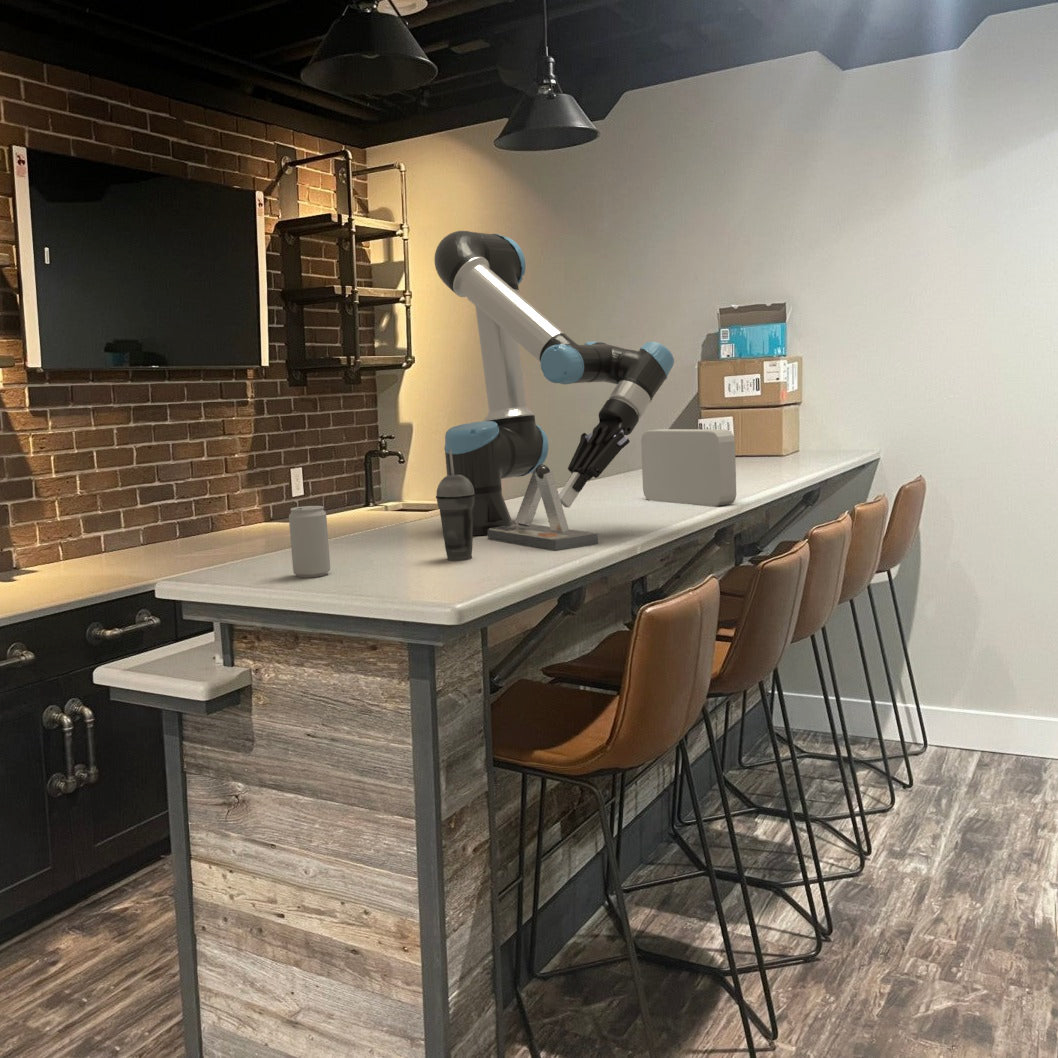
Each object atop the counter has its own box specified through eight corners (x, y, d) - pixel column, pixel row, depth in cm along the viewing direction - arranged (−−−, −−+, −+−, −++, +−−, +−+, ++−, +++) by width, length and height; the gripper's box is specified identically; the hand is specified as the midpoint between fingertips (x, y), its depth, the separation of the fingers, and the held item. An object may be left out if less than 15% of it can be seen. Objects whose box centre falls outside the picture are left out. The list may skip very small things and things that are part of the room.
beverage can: (296, 573, 184) (290, 506, 182) (332, 570, 184) (327, 503, 183) (291, 579, 177) (285, 510, 176) (329, 577, 178) (323, 508, 176)
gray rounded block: (744, 504, 248) (742, 428, 246) (720, 507, 244) (718, 431, 242) (665, 497, 272) (663, 428, 270) (643, 500, 268) (640, 430, 265)
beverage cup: (449, 563, 185) (442, 452, 182) (433, 558, 192) (426, 450, 189) (485, 558, 188) (479, 448, 186) (469, 553, 195) (462, 447, 192)
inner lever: (522, 526, 214) (543, 467, 215) (532, 527, 211) (554, 467, 212) (512, 521, 212) (534, 462, 214) (522, 523, 209) (544, 462, 211)
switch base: (527, 532, 218) (527, 520, 218) (598, 543, 199) (597, 530, 198) (487, 538, 213) (486, 526, 212) (555, 550, 193) (554, 536, 193)
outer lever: (559, 527, 202) (541, 463, 198) (570, 528, 199) (552, 463, 195) (549, 532, 200) (530, 468, 197) (560, 533, 197) (541, 468, 194)
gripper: (656, 420, 202) (595, 516, 195) (613, 422, 212) (554, 513, 205) (634, 395, 198) (571, 492, 191) (591, 398, 209) (531, 490, 202)
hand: (562, 503), depth 198 cm, fingers closed
